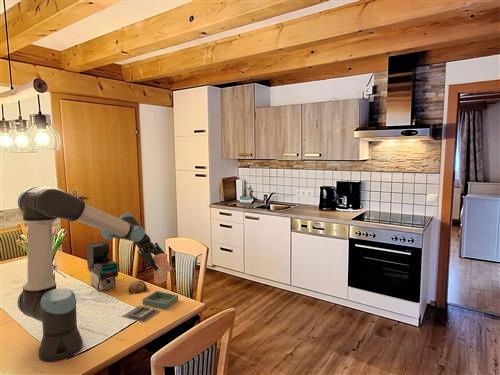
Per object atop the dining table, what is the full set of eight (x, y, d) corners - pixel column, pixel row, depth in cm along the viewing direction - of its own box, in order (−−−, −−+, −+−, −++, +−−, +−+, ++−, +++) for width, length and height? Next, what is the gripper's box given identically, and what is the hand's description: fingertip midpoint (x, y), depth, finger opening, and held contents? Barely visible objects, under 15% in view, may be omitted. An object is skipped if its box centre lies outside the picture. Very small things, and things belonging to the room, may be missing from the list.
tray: (164, 311, 159) (164, 304, 159) (142, 306, 165) (142, 298, 164) (178, 302, 169) (178, 295, 169) (156, 297, 175) (156, 290, 174)
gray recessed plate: (144, 324, 147) (144, 319, 146) (121, 318, 152) (121, 313, 152) (161, 313, 158) (161, 308, 157) (139, 307, 163) (139, 302, 163)
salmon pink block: (160, 284, 162) (159, 257, 161) (154, 282, 164) (153, 256, 163) (167, 279, 168) (167, 254, 166) (161, 278, 170) (160, 253, 168)
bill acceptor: (101, 295, 177) (99, 251, 175) (87, 283, 194) (85, 243, 191) (120, 289, 185) (118, 247, 182) (105, 278, 201) (104, 239, 198)
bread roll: (127, 297, 183) (122, 287, 179) (139, 284, 190) (134, 274, 187) (139, 301, 178) (134, 291, 174) (151, 287, 186) (147, 277, 182)
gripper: (148, 238, 179) (173, 270, 174) (123, 247, 161) (149, 283, 157) (156, 229, 176) (181, 262, 171) (130, 238, 159) (158, 274, 154)
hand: (166, 272), depth 164 cm, fingers closed on salmon pink block, 6 cm apart
